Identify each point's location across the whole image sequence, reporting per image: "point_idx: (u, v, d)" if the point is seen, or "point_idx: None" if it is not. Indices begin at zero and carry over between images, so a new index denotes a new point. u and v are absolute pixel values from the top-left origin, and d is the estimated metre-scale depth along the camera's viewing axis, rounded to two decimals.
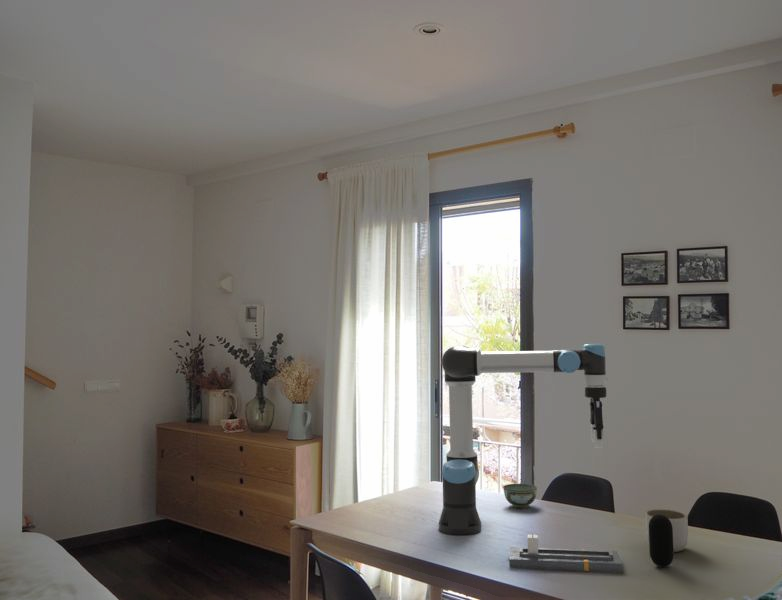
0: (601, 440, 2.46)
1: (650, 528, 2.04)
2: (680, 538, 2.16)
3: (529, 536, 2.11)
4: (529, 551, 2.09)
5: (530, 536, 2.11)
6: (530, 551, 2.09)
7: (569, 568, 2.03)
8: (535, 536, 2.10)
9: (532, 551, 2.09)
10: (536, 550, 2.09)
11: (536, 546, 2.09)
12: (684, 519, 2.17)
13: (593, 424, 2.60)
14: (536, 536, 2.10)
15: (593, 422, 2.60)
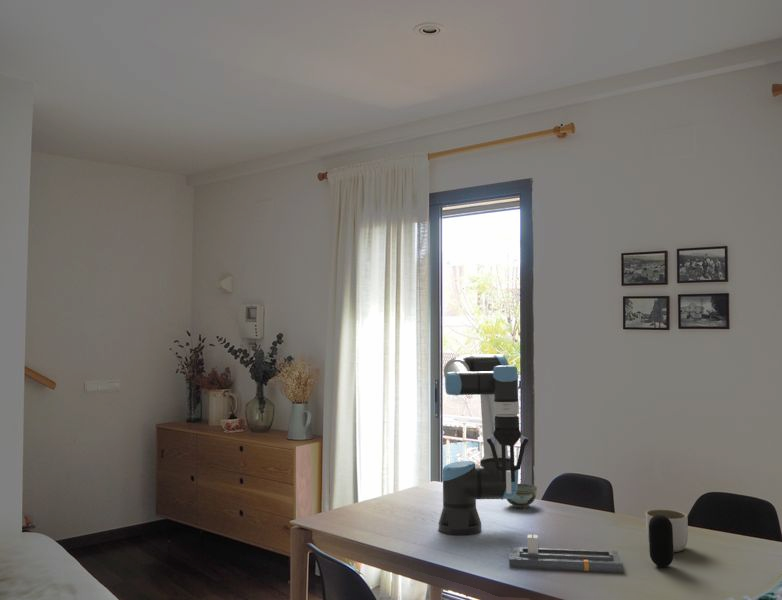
0: (506, 483, 2.14)
1: (650, 528, 2.04)
2: (680, 538, 2.16)
3: (529, 536, 2.11)
4: (529, 551, 2.09)
5: (530, 536, 2.11)
6: (530, 551, 2.09)
7: (569, 568, 2.03)
8: (535, 536, 2.10)
9: (532, 551, 2.09)
10: (536, 550, 2.09)
11: (536, 546, 2.09)
12: (684, 519, 2.17)
13: (510, 470, 2.16)
14: (536, 536, 2.10)
15: None
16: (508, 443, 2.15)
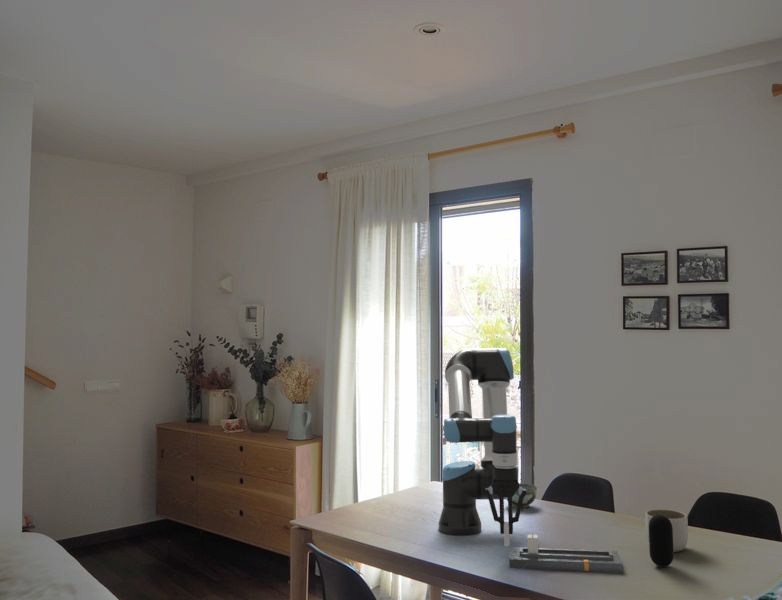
0: (504, 536, 2.11)
1: (650, 528, 2.04)
2: (680, 538, 2.16)
3: (529, 536, 2.11)
4: (529, 551, 2.09)
5: (530, 536, 2.11)
6: (530, 551, 2.09)
7: (569, 568, 2.03)
8: (535, 536, 2.10)
9: (532, 551, 2.09)
10: (536, 550, 2.09)
11: (536, 546, 2.09)
12: (684, 519, 2.17)
13: (508, 522, 2.13)
14: (536, 536, 2.10)
15: None
16: (506, 495, 2.12)
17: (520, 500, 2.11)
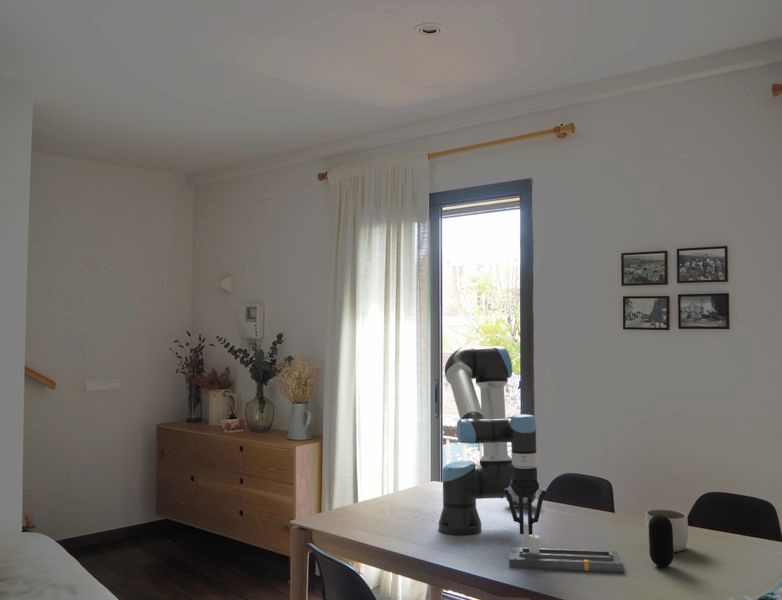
0: None
1: (650, 528, 2.04)
2: (680, 538, 2.16)
3: (530, 536, 2.11)
4: (530, 551, 2.09)
5: (531, 536, 2.11)
6: (531, 551, 2.09)
7: (569, 568, 2.03)
8: (536, 536, 2.10)
9: (533, 551, 2.09)
10: (537, 550, 2.09)
11: (537, 546, 2.09)
12: (684, 519, 2.17)
13: (528, 522, 2.11)
14: (537, 536, 2.10)
15: None
16: (526, 495, 2.10)
17: (540, 500, 2.10)
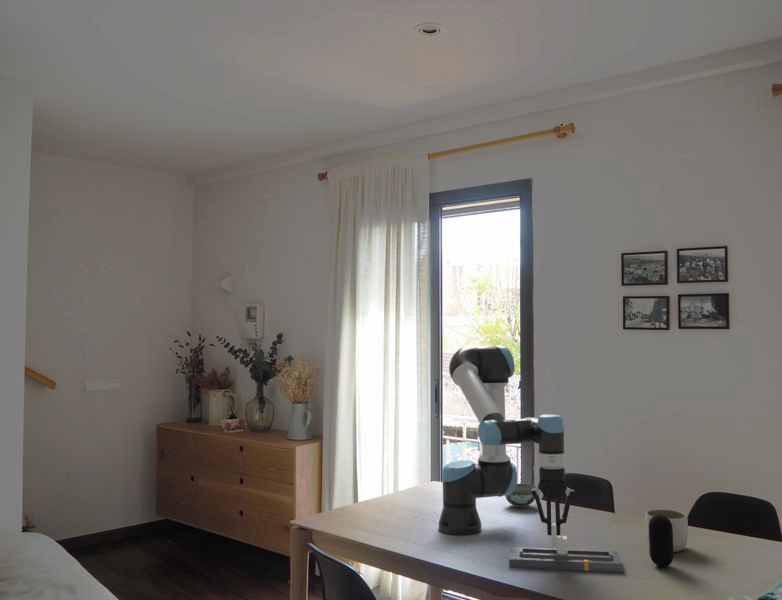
0: (551, 537, 2.09)
1: (650, 528, 2.04)
2: (680, 538, 2.16)
3: (558, 537, 2.09)
4: (558, 552, 2.07)
5: (559, 537, 2.09)
6: (559, 552, 2.07)
7: (569, 568, 2.03)
8: (564, 537, 2.09)
9: (561, 552, 2.07)
10: (565, 551, 2.07)
11: (565, 547, 2.07)
12: (684, 519, 2.17)
13: (555, 523, 2.10)
14: (565, 537, 2.09)
15: None
16: (553, 496, 2.09)
17: (568, 501, 2.08)
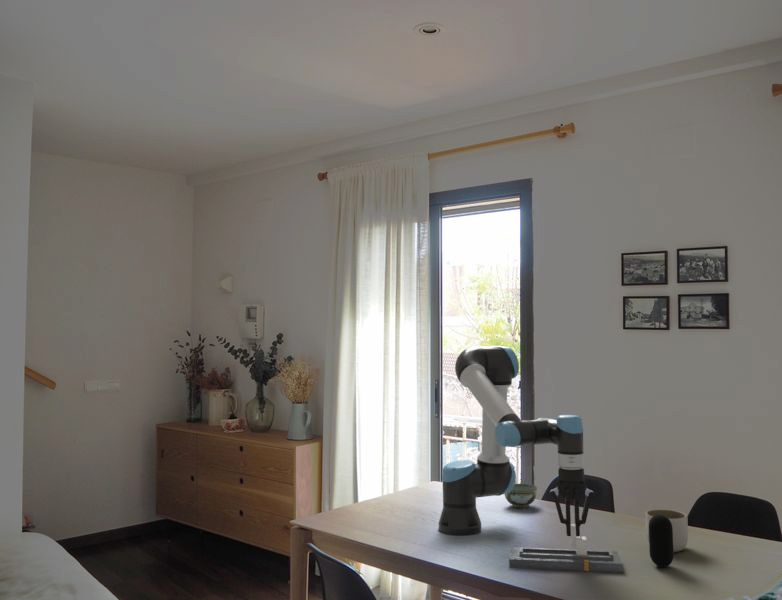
0: (570, 538, 2.08)
1: (650, 528, 2.04)
2: (680, 538, 2.16)
3: (577, 538, 2.08)
4: (578, 553, 2.06)
5: (578, 538, 2.08)
6: (579, 553, 2.06)
7: (569, 568, 2.03)
8: (583, 538, 2.08)
9: (581, 553, 2.06)
10: (585, 552, 2.06)
11: (585, 548, 2.06)
12: (684, 519, 2.17)
13: (575, 524, 2.09)
14: (584, 538, 2.08)
15: None
16: (573, 496, 2.08)
17: (587, 502, 2.07)
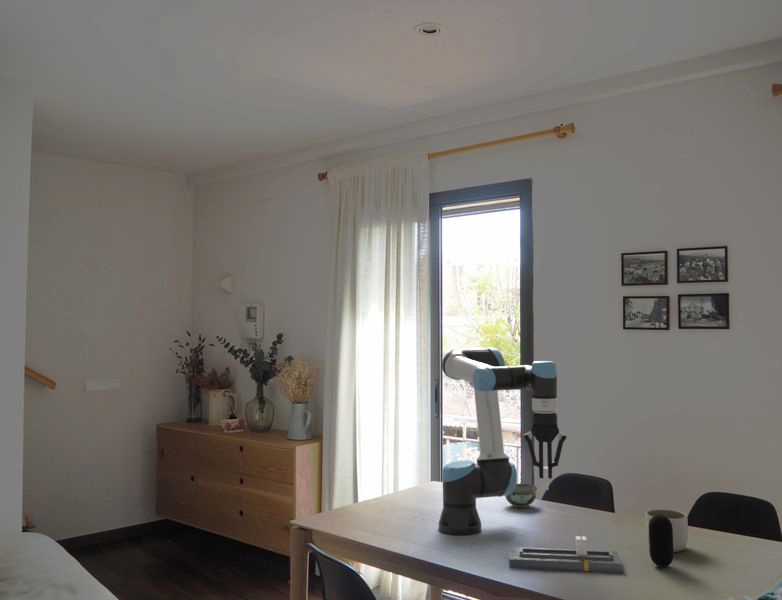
0: (543, 480, 2.13)
1: (650, 528, 2.04)
2: (680, 538, 2.16)
3: (577, 538, 2.08)
4: (578, 553, 2.06)
5: (579, 538, 2.08)
6: (579, 553, 2.06)
7: (569, 568, 2.03)
8: (584, 538, 2.08)
9: (581, 553, 2.06)
10: (585, 552, 2.06)
11: (585, 548, 2.06)
12: (684, 519, 2.17)
13: (547, 467, 2.14)
14: (585, 538, 2.08)
15: None
16: (546, 440, 2.13)
17: (560, 445, 2.12)
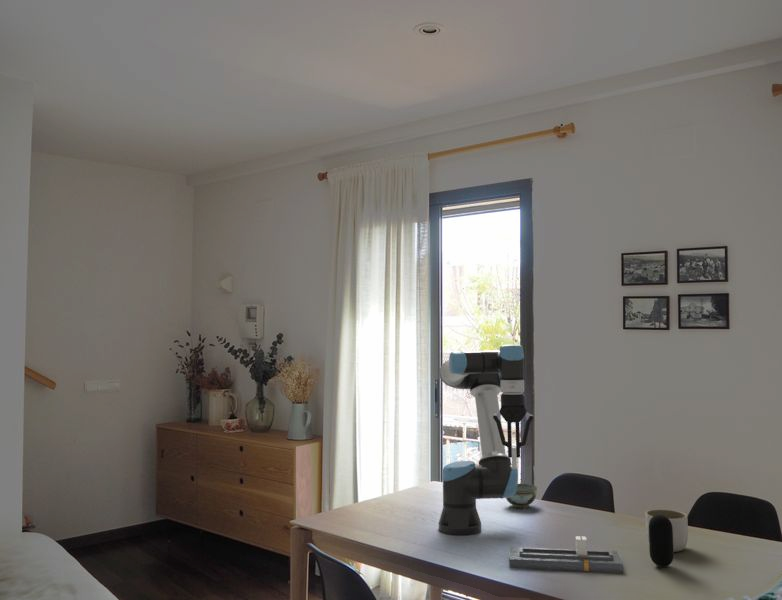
0: None
1: (650, 528, 2.04)
2: (680, 538, 2.16)
3: (577, 538, 2.08)
4: (578, 553, 2.06)
5: (579, 538, 2.08)
6: (579, 553, 2.06)
7: (569, 568, 2.03)
8: (584, 538, 2.08)
9: (581, 553, 2.06)
10: (585, 552, 2.06)
11: (585, 548, 2.06)
12: (684, 519, 2.17)
13: (516, 446, 2.22)
14: (585, 538, 2.08)
15: None
16: (514, 420, 2.21)
17: (527, 425, 2.20)
